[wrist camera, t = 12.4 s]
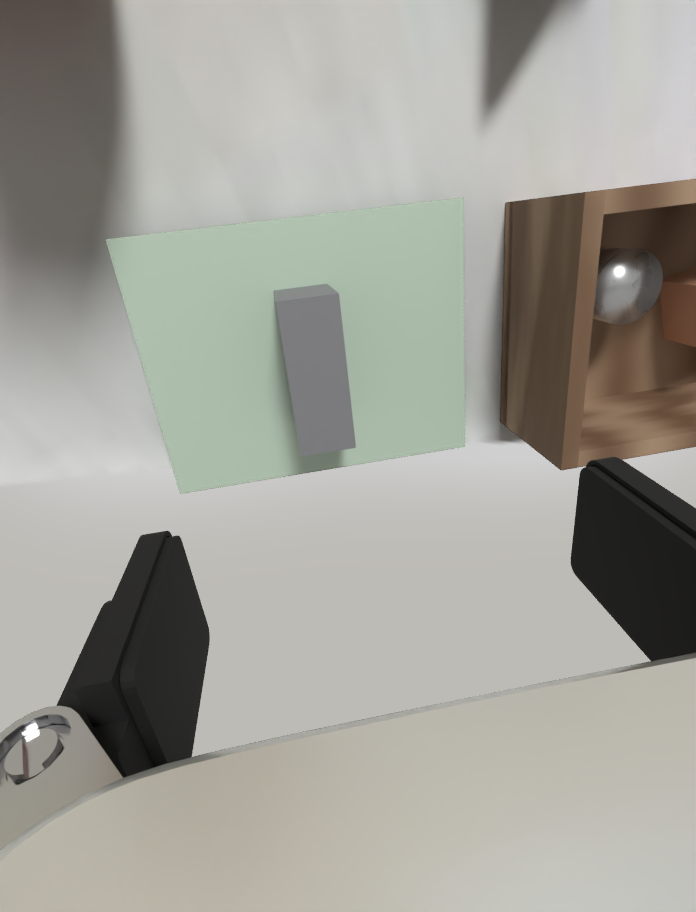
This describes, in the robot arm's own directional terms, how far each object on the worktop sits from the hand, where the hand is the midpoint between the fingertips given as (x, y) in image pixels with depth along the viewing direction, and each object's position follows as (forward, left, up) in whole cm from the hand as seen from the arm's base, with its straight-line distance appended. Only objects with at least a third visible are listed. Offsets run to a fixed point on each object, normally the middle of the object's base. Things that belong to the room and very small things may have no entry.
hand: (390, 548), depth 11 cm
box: (-22, 0, -22) cm, 31 cm away
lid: (0, 0, -22) cm, 22 cm away
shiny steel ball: (-18, -2, -21) cm, 27 cm away
